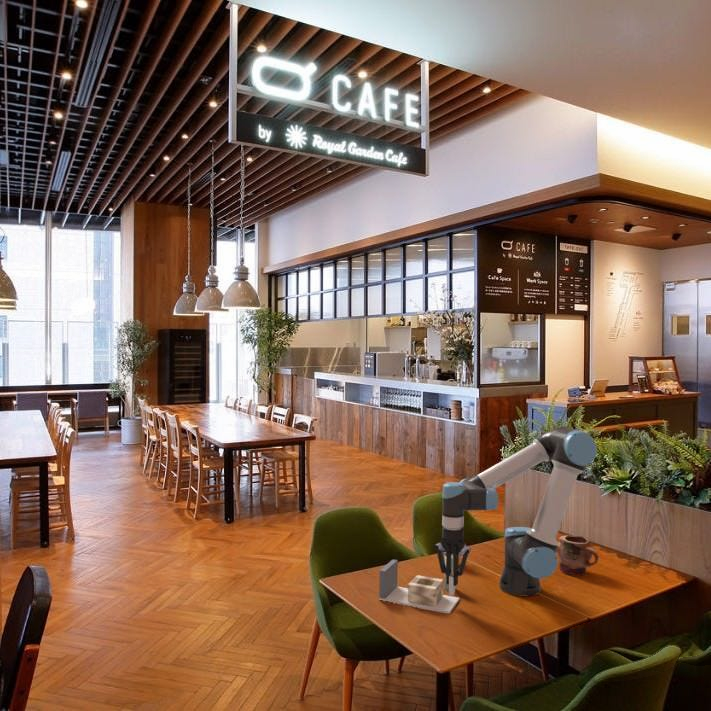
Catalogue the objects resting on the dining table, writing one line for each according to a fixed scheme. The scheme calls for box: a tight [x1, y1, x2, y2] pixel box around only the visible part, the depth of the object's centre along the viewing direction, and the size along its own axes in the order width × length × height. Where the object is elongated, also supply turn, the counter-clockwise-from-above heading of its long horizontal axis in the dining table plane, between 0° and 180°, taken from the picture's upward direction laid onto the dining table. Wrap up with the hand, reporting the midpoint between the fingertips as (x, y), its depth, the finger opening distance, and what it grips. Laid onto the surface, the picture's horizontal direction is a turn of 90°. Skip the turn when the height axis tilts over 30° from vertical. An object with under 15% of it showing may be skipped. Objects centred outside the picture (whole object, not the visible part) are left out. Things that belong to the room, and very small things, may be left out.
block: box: [407, 574, 444, 606], centre depth 220 cm, size 10×10×6 cm
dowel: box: [443, 555, 453, 592], centre depth 232 cm, size 4×4×12 cm
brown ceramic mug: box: [555, 534, 599, 577], centre depth 250 cm, size 20×12×14 cm, turn 38°
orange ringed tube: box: [442, 543, 467, 567], centre depth 259 cm, size 12×10×15 cm
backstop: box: [378, 559, 460, 615], centre depth 221 cm, size 26×13×11 cm, turn 65°
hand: (451, 593), depth 216 cm, fingers closed
